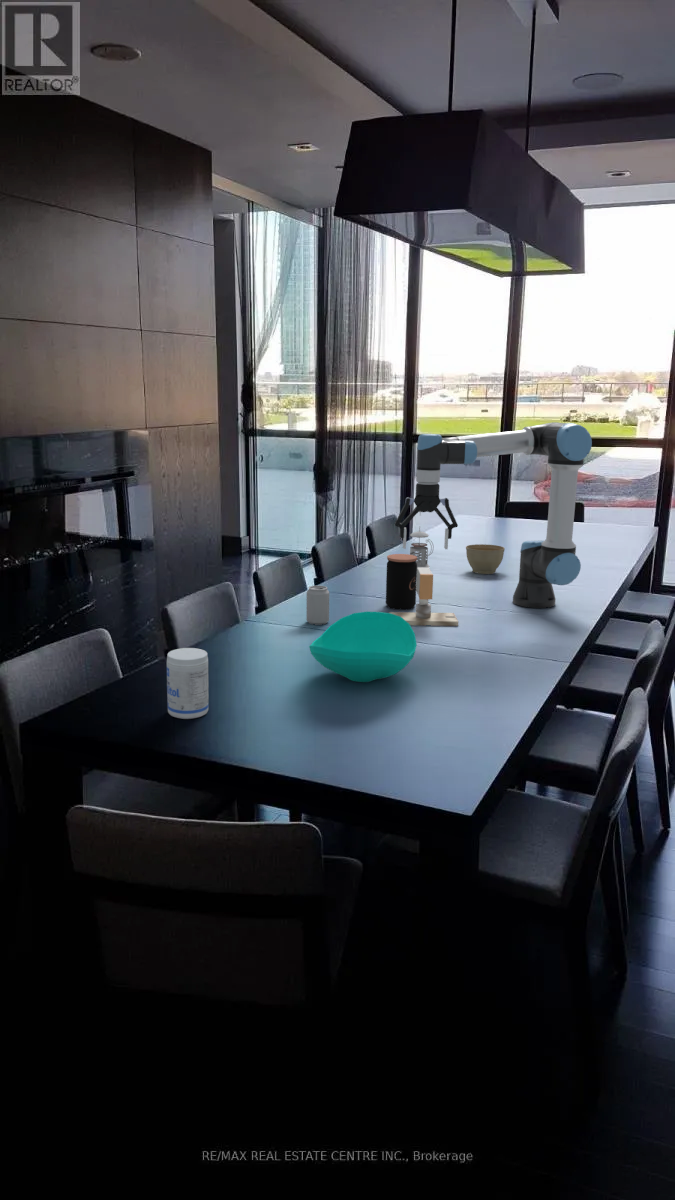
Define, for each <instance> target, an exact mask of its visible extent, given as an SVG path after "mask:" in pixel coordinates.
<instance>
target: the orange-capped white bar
mask: <svg viewBox="0 0 675 1200" xmlns="http://www.w3.org/2000/svg"><path fill="white" fill-rule="evenodd" d="M433 589H434V573H433V572H432V570H431V569H430V567H417V581H416V595H417V596H418V598H419V599H418V604H420V605H428V604H429V600H433V592H434V590H433Z"/></svg>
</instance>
